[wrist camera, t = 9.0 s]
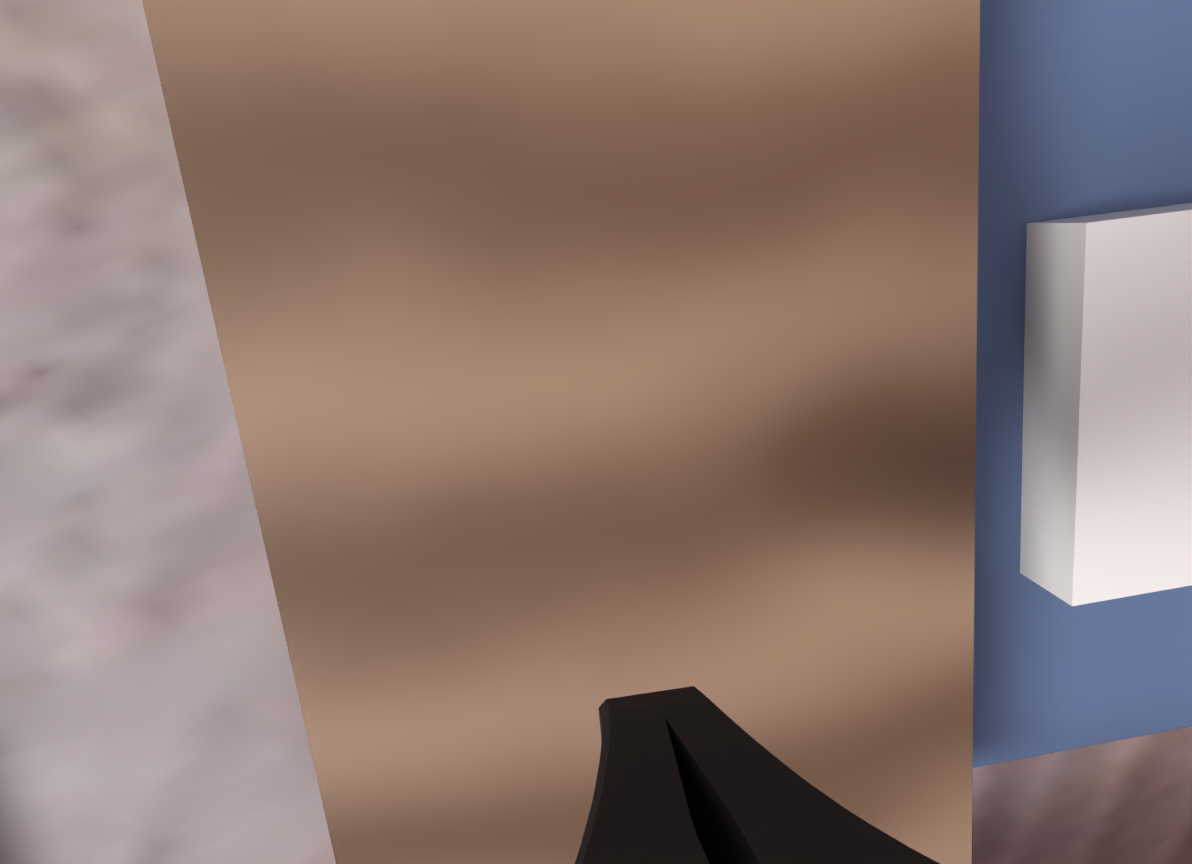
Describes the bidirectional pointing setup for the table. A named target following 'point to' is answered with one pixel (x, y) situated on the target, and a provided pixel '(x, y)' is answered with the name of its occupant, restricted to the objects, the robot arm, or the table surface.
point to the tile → (1108, 404)
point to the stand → (598, 388)
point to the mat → (1005, 205)
